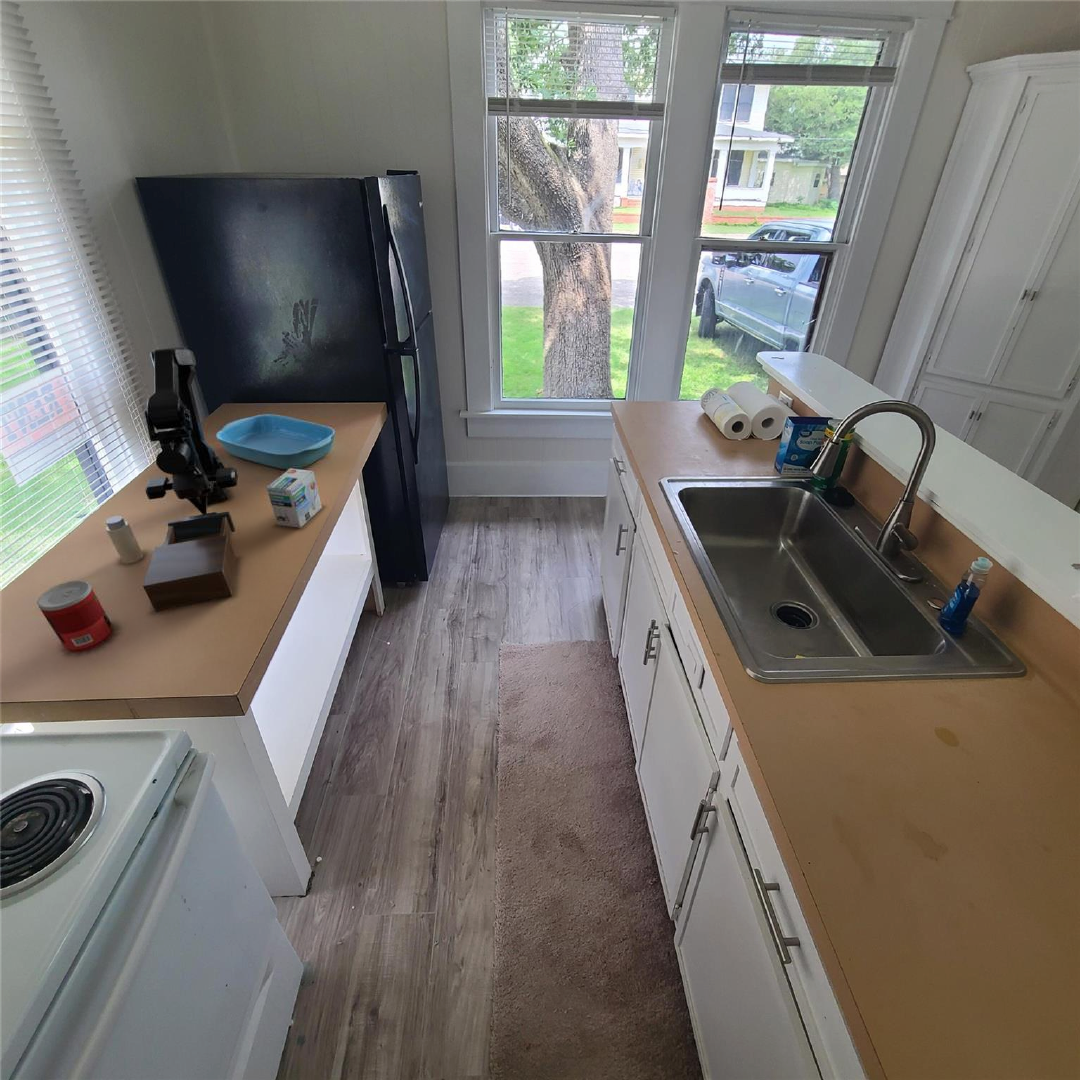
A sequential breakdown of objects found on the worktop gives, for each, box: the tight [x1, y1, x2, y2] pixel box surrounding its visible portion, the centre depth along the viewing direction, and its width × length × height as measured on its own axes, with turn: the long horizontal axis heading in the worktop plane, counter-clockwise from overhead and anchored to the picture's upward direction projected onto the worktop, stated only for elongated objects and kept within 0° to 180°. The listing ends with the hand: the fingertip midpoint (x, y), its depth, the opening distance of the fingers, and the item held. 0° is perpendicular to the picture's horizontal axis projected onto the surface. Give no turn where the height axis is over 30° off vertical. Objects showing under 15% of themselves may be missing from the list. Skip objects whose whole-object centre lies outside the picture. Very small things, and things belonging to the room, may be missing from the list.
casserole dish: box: [215, 413, 336, 471], centre depth 175 cm, size 37×22×7 cm, turn 66°
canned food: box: [36, 580, 114, 653], centre depth 107 cm, size 8×8×11 cm
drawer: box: [162, 511, 236, 546], centre depth 133 cm, size 17×13×5 cm
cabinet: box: [142, 535, 237, 613], centre depth 122 cm, size 14×14×7 cm
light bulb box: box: [266, 469, 323, 529], centre depth 144 cm, size 11×7×11 cm, turn 168°
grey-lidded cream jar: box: [105, 515, 144, 564], centre depth 128 cm, size 4×4×10 cm
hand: (204, 513), depth 141 cm, fingers closed
